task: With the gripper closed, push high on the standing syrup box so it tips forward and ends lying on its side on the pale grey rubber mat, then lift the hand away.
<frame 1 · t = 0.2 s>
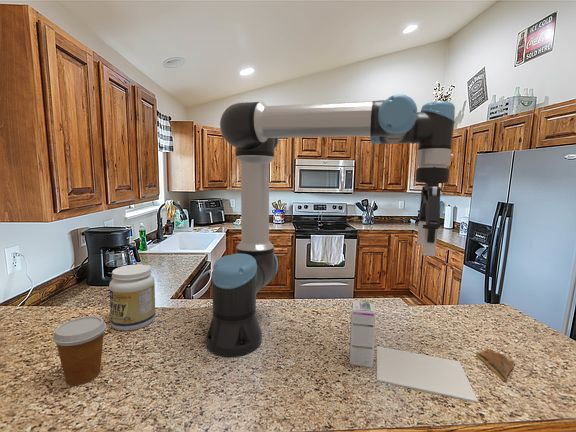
hand: (425, 249, 75), 28 cm above the countertop, tool pointing down, fingers open, 13 cm apart
supplement tub: (134, 322, 89), on the countertop
syrup box: (360, 360, 73), on the countertop
disposable coffee cup: (83, 376, 64), on the countertop
shard: (501, 369, 72), on the countertop
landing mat: (420, 371, 69), on the countertop
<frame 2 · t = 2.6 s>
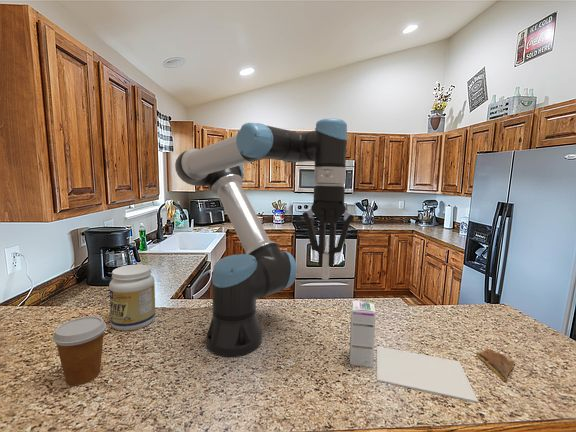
hand: (325, 278, 73), 20 cm above the countertop, tool pointing down, fingers closed
nothing on the countertop moved.
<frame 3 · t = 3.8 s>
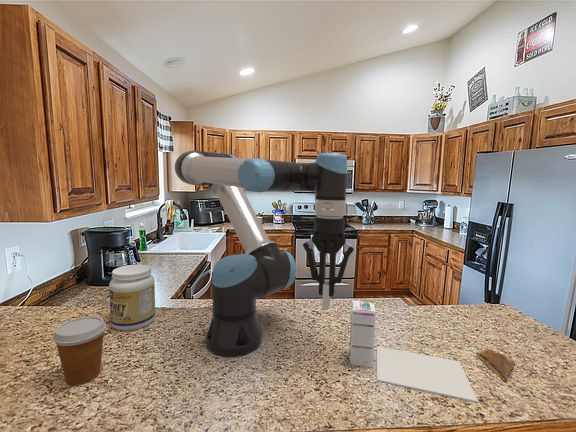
hand: (325, 307, 74), 12 cm above the countertop, tool pointing down, fingers closed
nothing on the countertop moved.
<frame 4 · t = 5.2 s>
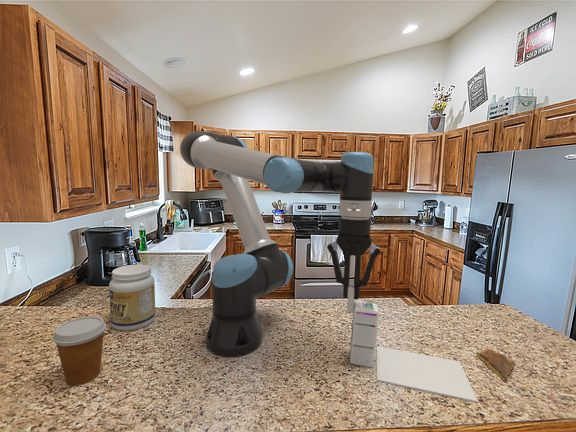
hand: (350, 310, 72), 13 cm above the countertop, tool pointing down, fingers closed
syrup box: (360, 359, 73), on the countertop, touching gripper
everything else where it was.
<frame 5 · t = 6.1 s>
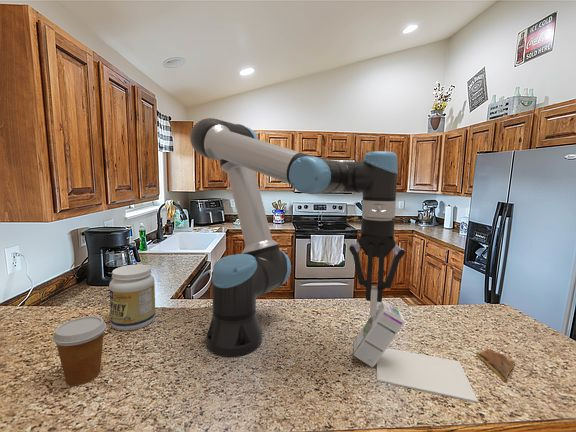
hand: (373, 313, 70), 13 cm above the countertop, tool pointing down, fingers closed
syrup box: (361, 355, 72), point 1 cm above the countertop, touching gripper
everything else where it was.
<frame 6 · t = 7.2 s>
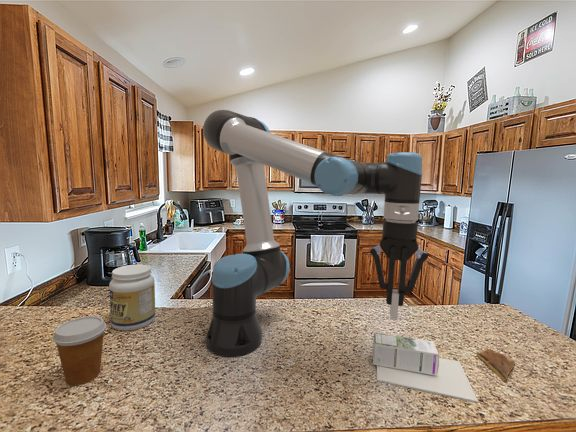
hand: (393, 317, 69), 13 cm above the countertop, tool pointing down, fingers closed
syrup box: (372, 347, 72), point 3 cm above the countertop, touching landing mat
everything else where it was.
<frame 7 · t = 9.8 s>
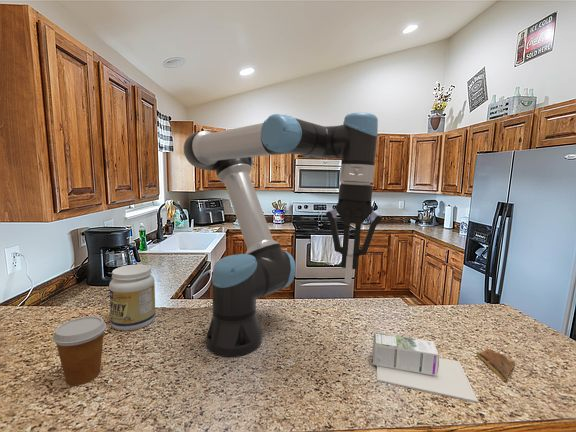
hand: (348, 280, 70), 21 cm above the countertop, tool pointing down, fingers closed
nothing on the countertop moved.
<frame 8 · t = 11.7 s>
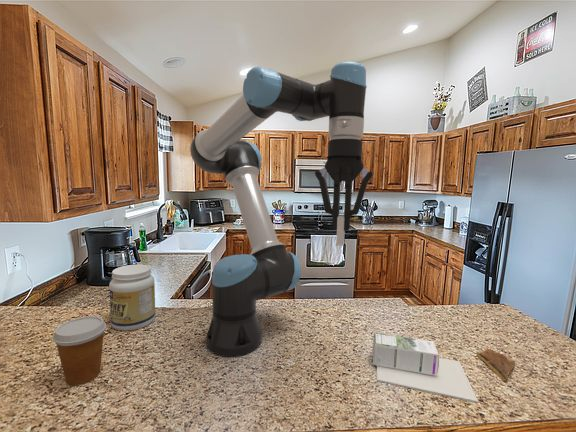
hand: (340, 244, 66), 30 cm above the countertop, tool pointing down, fingers closed
nothing on the countertop moved.
at the end: syrup box tilted 90°; syrup box inside the target area (3.9 cm from its centre), point 3.4 cm above the countertop; syrup box touching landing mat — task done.
